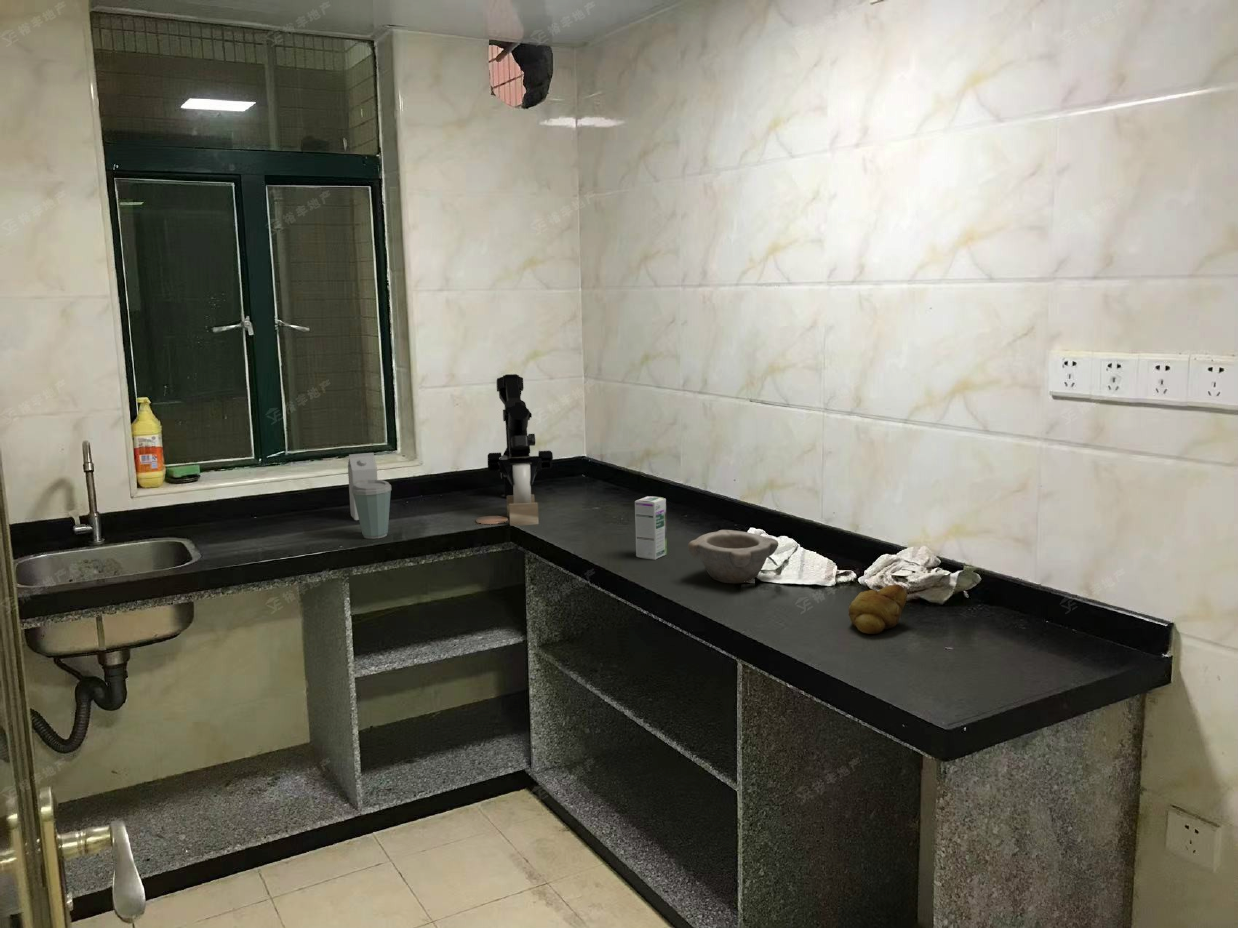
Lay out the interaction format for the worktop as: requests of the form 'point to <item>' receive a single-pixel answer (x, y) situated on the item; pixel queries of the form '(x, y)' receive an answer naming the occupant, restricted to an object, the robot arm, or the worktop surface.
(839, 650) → the worktop surface
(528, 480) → the white cylinder
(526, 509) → the outer gate wall
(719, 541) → the mortar
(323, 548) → the worktop surface
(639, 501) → the syrup box
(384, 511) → the disposable coffee cup
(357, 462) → the milk carton
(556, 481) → the worktop surface
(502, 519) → the pad
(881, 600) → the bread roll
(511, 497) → the wall
